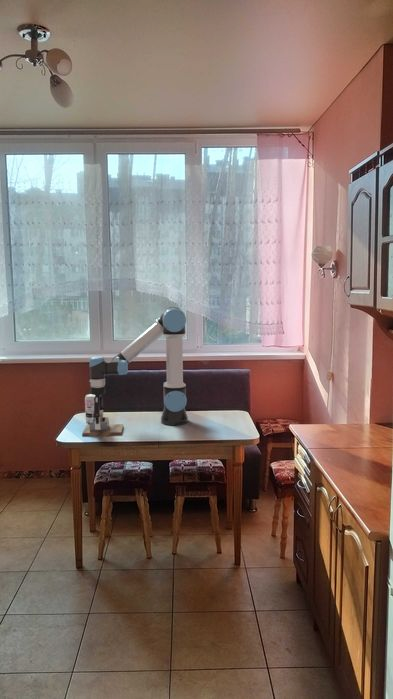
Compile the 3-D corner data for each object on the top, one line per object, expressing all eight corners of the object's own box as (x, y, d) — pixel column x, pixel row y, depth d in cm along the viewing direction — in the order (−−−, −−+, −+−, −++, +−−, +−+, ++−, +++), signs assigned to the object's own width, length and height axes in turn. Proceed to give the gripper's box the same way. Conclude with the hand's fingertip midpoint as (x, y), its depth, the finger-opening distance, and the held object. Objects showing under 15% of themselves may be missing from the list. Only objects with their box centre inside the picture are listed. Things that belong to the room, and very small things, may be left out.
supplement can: (100, 418, 289) (99, 393, 287) (100, 422, 281) (99, 396, 279) (86, 419, 288) (85, 393, 286) (85, 423, 280) (84, 397, 278)
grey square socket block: (109, 425, 270) (108, 416, 269) (107, 431, 261) (106, 421, 260) (92, 426, 269) (91, 417, 268) (89, 431, 260) (89, 422, 259)
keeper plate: (123, 426, 273) (122, 409, 271) (121, 434, 259) (120, 417, 258) (86, 427, 272) (85, 410, 270) (82, 436, 258) (81, 418, 256)
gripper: (93, 381, 274) (95, 419, 277) (87, 391, 249) (88, 433, 252) (107, 381, 274) (109, 418, 277) (102, 391, 249) (103, 432, 253)
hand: (99, 425), depth 265 cm, fingers open, 13 cm apart
